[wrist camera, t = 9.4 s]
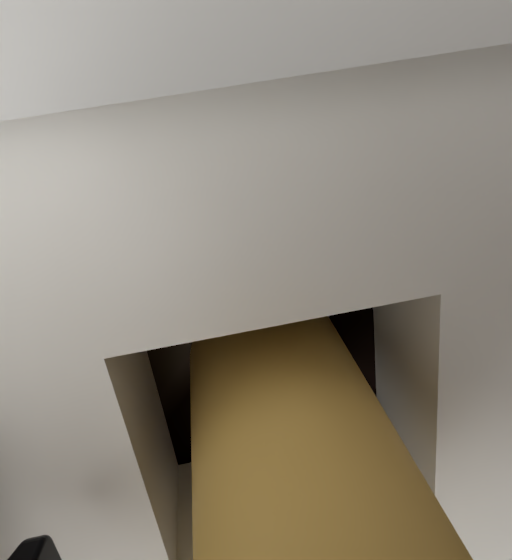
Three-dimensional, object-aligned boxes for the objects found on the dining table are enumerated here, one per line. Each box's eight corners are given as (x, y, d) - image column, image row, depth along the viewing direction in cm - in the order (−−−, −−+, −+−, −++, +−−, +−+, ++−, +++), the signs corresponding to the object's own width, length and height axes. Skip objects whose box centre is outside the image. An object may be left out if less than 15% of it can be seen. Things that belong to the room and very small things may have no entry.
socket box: (56, 610, 15) (-13, 905, 10) (-210, 83, 9) (-868, 96, 3) (518, 505, 16) (684, 717, 11) (591, -31, 10) (1093, -163, 4)
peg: (204, 429, 13) (227, 856, 6) (175, 304, 12) (159, 686, 4) (341, 401, 14) (523, 777, 6) (332, 275, 12) (563, 589, 5)
